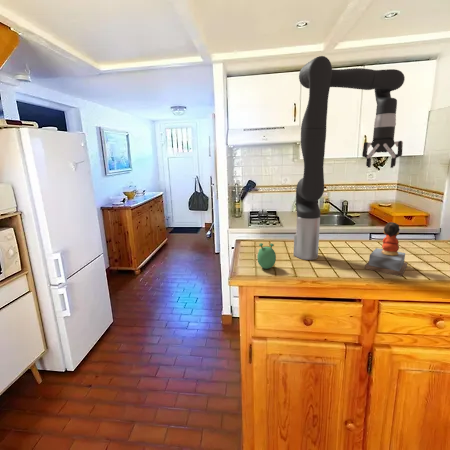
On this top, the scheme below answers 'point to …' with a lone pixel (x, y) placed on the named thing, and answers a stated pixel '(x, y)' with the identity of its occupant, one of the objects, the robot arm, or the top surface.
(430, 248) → the top surface
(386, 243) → the figurine
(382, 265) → the pedestal
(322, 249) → the top surface
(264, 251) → the alien toy
